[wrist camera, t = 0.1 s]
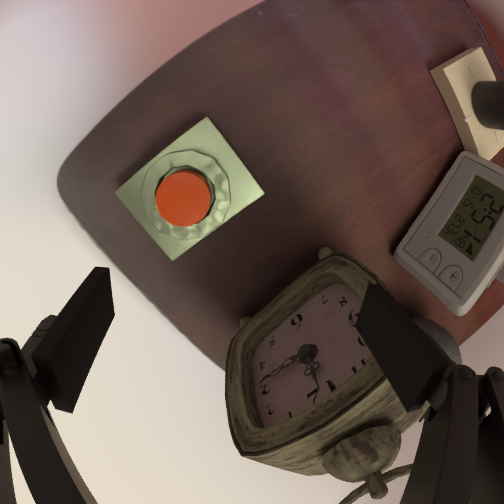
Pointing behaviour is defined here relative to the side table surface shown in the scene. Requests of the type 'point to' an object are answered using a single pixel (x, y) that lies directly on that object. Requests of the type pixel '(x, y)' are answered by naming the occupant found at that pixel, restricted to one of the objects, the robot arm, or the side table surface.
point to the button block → (203, 162)
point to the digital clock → (459, 234)
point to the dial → (489, 103)
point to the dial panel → (468, 100)
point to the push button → (183, 198)
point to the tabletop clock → (316, 383)
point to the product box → (500, 275)
